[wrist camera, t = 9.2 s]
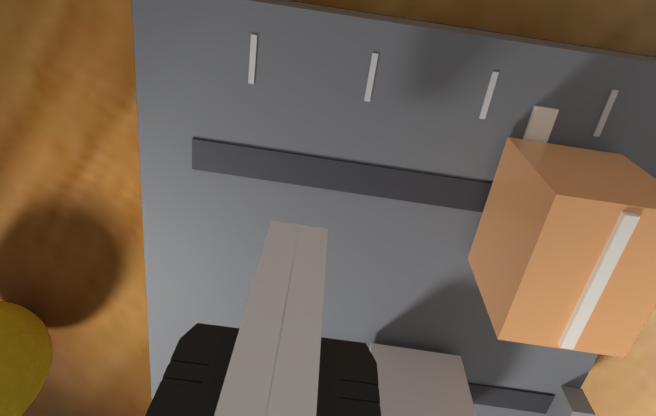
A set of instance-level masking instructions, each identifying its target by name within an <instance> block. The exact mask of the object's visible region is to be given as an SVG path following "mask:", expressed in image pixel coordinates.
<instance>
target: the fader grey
mask: <svg viewBox="0 0 656 416" xmlns="http://www.w3.org/2000/svg"><path fill="white" fill-rule="evenodd" d="M369 350H370V352H371V353H372V355H373V357H374V358H375V360H376V362H377V371H378V383H379V385H378V388H379V395H380V407H381V416H476V412H475V409H474V405H473V401H472V397H471V393H470V389H469V386H468V382H467V378H466V374H465V370H464V366H463V363H462V359H461V356H458V355H451V354H444V353H437V352H430V351H423V350H416V349H409V348H402V347H395V346H388V345H381V344H374V343H371V344H370V348H369Z"/></svg>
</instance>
